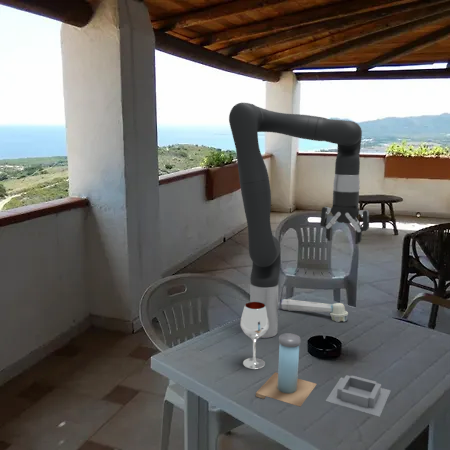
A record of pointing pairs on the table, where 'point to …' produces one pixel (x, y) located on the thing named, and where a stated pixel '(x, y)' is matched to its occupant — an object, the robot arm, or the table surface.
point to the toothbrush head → (316, 308)
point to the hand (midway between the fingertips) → (343, 242)
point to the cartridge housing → (359, 395)
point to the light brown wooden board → (292, 398)
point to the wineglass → (254, 329)
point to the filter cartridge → (288, 362)
